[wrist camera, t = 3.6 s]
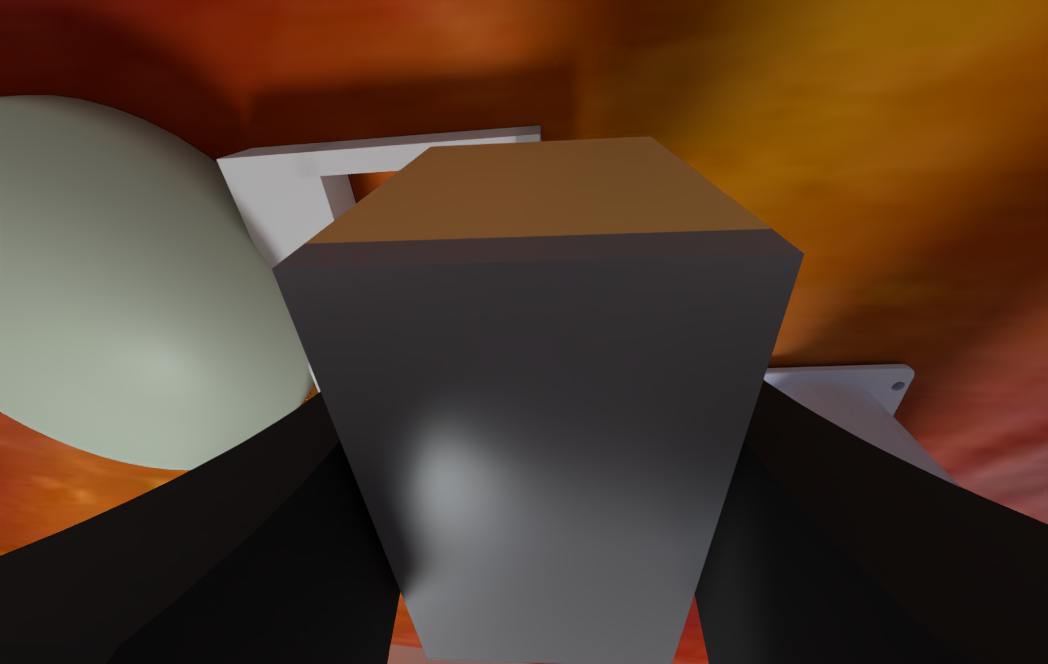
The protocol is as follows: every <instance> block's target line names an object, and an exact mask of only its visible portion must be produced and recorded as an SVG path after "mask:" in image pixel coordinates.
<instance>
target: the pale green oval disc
mask: <svg viewBox="0 0 1048 664" xmlns="http://www.w3.org/2000/svg"><path fill="white" fill-rule="evenodd" d="M540 141H541V125H538V126H525V127H512V128H500V129H487V130H474V131H462V132H449V133H436V134H424V135H411V136H398V137H386V138H373V139H360V140H348V141H335V142H322V143H310V144H297V145H285V146H272V147H259V148H251V149H247V150H244V151H241V152H238V153H235V154H231V155H228V156H225V157H222V158H219V159H216V160H217V162H218V164H217V163H216V162H215V161H214V160H212V159H211V158H210V157H208V156H207V155H206V154H204V153H203V152H201V151H199V150H198V149H196V148H195V147H193V146H192V145H190V144H188V143H187V142H185V141H184V140H182V139H181V138H179V137H177V136H176V135H174V134H172V133H170V132H168V131H166V130H164V129H162V128H160V127H158V126H156V125H154V124H152V123H150V122H148V121H146V120H144V119H141V118H139V117H136V116H134V115H131V114H129V113H126V112H123V111H121V110H118V109H116V108H113V107H109V106H106V105H102V104H98V103H94V102H91V101H87V100H83V99H78V98H70V97H63V96H56V95H17V96H3V97H0V412H2V413H3V414H5V415H7V416H9V417H11V418H13V419H14V420H16V421H18V422H20V423H22V424H24V425H25V426H27V427H29V428H31V429H34V430H36V431H38V432H40V433H42V434H44V435H46V436H48V437H51V438H53V439H55V440H58V441H60V442H63V443H65V444H68V445H70V446H73V447H75V448H78V449H81V450H84V451H87V452H90V453H93V454H96V455H99V456H102V457H106V458H109V459H113V460H117V461H121V462H125V463H130V464H135V465H140V466H145V467H153V468H161V469H173V470H192V469H194V468H196V467H198V466H200V465H202V464H203V463H205V462H207V461H209V460H211V459H213V458H215V457H216V456H218V455H220V454H222V453H224V452H226V451H228V450H229V449H231V448H233V447H235V446H237V445H239V444H240V443H242V442H244V441H246V440H247V439H249V438H251V437H252V436H254V435H256V434H257V433H259V432H260V431H262V430H264V429H265V428H267V427H269V426H270V425H272V424H274V423H275V422H277V421H278V420H280V419H281V418H283V417H285V416H286V415H288V414H289V413H291V412H292V411H294V410H295V409H297V408H298V407H300V406H301V404H302V403H303V402H304V400H305V399H306V397H307V396H308V394H309V393H310V392H311V390H312V389H313V387H314V385H316V387H317V390H318V392H320V389H319V386H318V384H317V381H316V379H315V376H314V374H313V371H312V369H311V366H310V364H309V361H308V359H307V356H306V354H305V351H304V349H303V346H302V344H301V341H300V339H299V336H298V334H297V331H296V329H295V326H294V324H293V321H292V319H291V316H290V314H289V311H288V309H287V306H286V304H285V301H284V299H283V296H282V294H281V291H280V289H279V286H278V284H277V281H276V279H275V276H274V274H273V271H272V268H273V267H275V266H276V265H277V264H278V263H280V262H281V261H282V260H284V259H285V258H286V257H288V256H289V255H290V254H291V253H293V252H294V251H295V250H297V249H298V248H299V247H301V246H302V245H303V244H304V243H306V242H307V241H308V240H310V239H311V238H312V237H314V236H315V235H316V234H317V233H319V232H320V231H321V230H323V229H324V228H325V227H327V226H328V225H329V224H330V223H332V222H333V221H334V220H336V219H337V218H338V217H340V216H341V215H342V214H343V213H345V212H346V211H347V210H349V209H350V208H351V207H353V206H354V205H355V204H356V202H355V199H354V195H353V192H352V188H351V185H350V181H349V178H348V174H357V173H371V172H385V171H398V170H401V169H402V168H403V167H405V166H406V165H407V164H409V163H410V162H411V161H412V160H414V159H415V158H416V157H418V156H419V155H420V154H422V153H423V152H424V151H425V150H427V149H428V148H429V147H432V146H453V145H475V144H497V143H518V142H540Z"/></svg>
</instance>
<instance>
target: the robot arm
mask: <svg viewBox="0 0 1048 664" xmlns="http://www.w3.org/2000/svg"><path fill="white" fill-rule="evenodd" d="M914 374H915V373H914V370H913V369H911V368H910V367H909V366H908V365H906V364H883V365H852V366H821V367H790V368H767V370H766V374H765V377H764V380H763V383H762V386H761V389H760V392H759V395H758V398H757V401H756V405H755V408H754V411H753V414H752V417H751V420H750V423H749V426H748V429H747V432H746V436H745V439H744V442H743V445H742V448H741V451H740V454H739V457H738V460H737V463H736V467H735V470H734V473H733V476H732V479H731V482H730V485H729V488H728V491H727V494H726V498H725V501H724V504H723V507H722V510H721V513H720V516H719V519H718V522H717V525H716V529H715V532H714V535H713V538H712V541H711V544H710V547H709V550H708V553H707V557H706V560H705V563H704V566H703V569H702V572H701V575H700V578H699V581H698V584H697V588H696V591H695V598H696V602H697V607H698V612H699V617H700V622H701V627H702V631H703V636H704V641H705V646H706V651H707V656H708V661H709V664H1048V524H1046V523H1043V522H1041V521H1038V520H1036V519H1034V518H1031V517H1029V516H1027V515H1024V514H1022V513H1019V512H1017V511H1015V510H1012V509H1010V508H1008V507H1005V506H1003V505H1000V504H998V503H996V502H993V501H991V500H989V499H986V498H984V497H982V496H979V495H977V494H975V493H973V492H970V491H968V490H966V489H964V488H962V487H961V486H960V485H959V484H958V483H957V482H956V481H955V480H954V479H953V478H952V477H951V476H950V475H949V474H948V473H947V472H946V471H945V470H944V469H943V468H942V467H941V466H940V465H939V464H938V463H937V462H936V460H935V459H934V458H933V457H932V456H931V455H930V454H929V453H928V452H927V451H926V450H925V449H924V448H923V447H922V446H921V445H920V444H919V443H918V442H917V441H916V440H915V439H914V438H913V437H912V436H911V434H910V433H909V432H908V431H907V430H906V429H905V428H904V427H903V426H902V425H901V424H900V423H899V422H898V421H897V420H896V419H895V418H894V417H893V415H894V413H895V411H896V410H897V408H898V406H899V404H900V402H901V400H902V398H903V396H904V394H905V392H906V391H907V389H908V387H909V385H910V383H911V381H912V379H913V377H914ZM399 596H400V589H399V586H398V584H397V581H396V579H395V576H394V574H393V571H392V569H391V566H390V564H389V561H388V559H387V556H386V554H385V551H384V549H383V546H382V544H381V541H380V539H379V536H378V534H377V531H376V529H375V526H374V524H373V521H372V519H371V516H370V514H369V511H368V509H367V506H366V504H365V501H364V499H363V496H362V494H361V491H360V489H359V486H358V484H357V481H356V479H355V476H354V474H353V471H352V469H351V466H350V464H349V461H348V459H347V456H346V454H345V451H344V449H343V446H342V444H341V441H340V439H339V436H338V434H337V431H336V429H335V426H334V424H333V421H332V419H331V416H330V414H329V411H328V409H327V406H326V404H325V401H324V399H323V396H322V394H321V391H320V392H319V393H318V394H316V395H315V396H314V397H312V398H311V399H310V400H308V401H307V402H305V403H304V404H303V405H301V406H300V407H298V408H297V409H295V410H294V411H292V412H291V413H289V414H288V415H286V416H285V417H283V418H281V419H280V420H278V421H277V422H275V423H274V424H272V425H270V426H269V427H267V428H265V429H264V430H262V431H260V432H259V433H257V434H256V435H254V436H252V437H251V438H249V439H247V440H246V441H244V442H242V443H240V444H239V445H237V446H235V447H233V448H231V449H229V450H228V451H226V452H224V453H222V454H220V455H218V456H216V457H215V458H213V459H211V460H209V461H207V462H205V463H203V464H202V465H200V466H198V467H196V468H194V469H192V470H190V471H188V472H187V473H185V474H183V475H181V476H179V477H177V478H175V479H173V480H171V481H169V482H167V483H165V484H163V485H161V486H159V487H157V488H155V489H153V490H151V491H149V492H147V493H144V494H142V495H140V496H138V497H136V498H134V499H132V500H130V501H128V502H125V503H123V504H121V505H119V506H117V507H114V508H112V509H110V510H108V511H106V512H103V513H101V514H99V515H97V516H95V517H92V518H90V519H88V520H86V521H83V522H81V523H79V524H76V525H74V526H72V527H70V528H67V529H65V530H63V531H60V532H58V533H55V534H53V535H51V536H48V537H46V538H43V539H41V540H38V541H36V542H33V543H31V544H28V545H26V546H24V547H21V548H19V549H16V550H14V551H11V552H9V553H6V554H4V555H1V556H0V664H387V662H388V656H389V650H390V644H391V639H392V633H393V628H394V623H395V617H396V612H397V607H398V601H399Z"/></svg>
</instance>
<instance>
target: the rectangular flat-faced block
mask: <svg viewBox="0 0 1048 664" xmlns="http://www.w3.org/2000/svg"><path fill="white" fill-rule="evenodd" d="M803 256H804V253H802V252H801V251H800V250H799V249H797V248H796V247H795V246H793V245H792V244H791V243H789V242H788V241H787V240H786V239H784V238H783V237H782V236H780V235H779V234H778V233H776V232H775V231H774V230H772V229H771V228H770V227H769V226H767V225H766V224H765V223H763V222H762V221H761V220H759V219H758V218H757V217H755V216H754V215H753V214H752V213H750V212H749V211H748V210H746V209H745V208H744V207H742V206H741V205H740V204H739V203H737V202H736V201H735V200H733V199H732V198H731V197H729V196H728V195H727V194H725V193H724V192H723V191H722V190H720V189H719V188H718V187H716V186H715V185H714V184H712V183H711V182H710V181H708V180H707V179H706V178H705V177H703V176H702V175H701V174H699V173H698V172H697V171H695V170H694V169H693V168H692V167H690V166H689V165H688V164H686V163H685V162H684V161H682V160H681V159H680V158H678V157H677V156H676V155H675V154H673V153H672V152H671V151H669V150H668V149H667V148H665V147H664V146H663V145H662V144H660V143H659V142H658V141H656V140H655V139H654V138H652V137H651V136H647V137H626V138H604V139H583V140H561V141H540V142H518V143H497V144H475V145H453V146H432V147H429V148H428V149H427V150H425V151H424V152H423V153H422V154H420V155H419V156H418V157H416V158H415V159H414V160H412V161H411V162H410V163H409V164H407V165H406V166H405V167H403V168H402V169H401V170H399V171H398V172H397V173H396V174H394V175H393V176H392V177H390V178H389V179H388V180H386V181H385V182H384V183H383V184H381V185H380V186H379V187H377V188H376V189H375V190H373V191H372V192H371V193H370V194H368V195H367V196H366V197H364V198H363V199H362V200H360V201H359V202H358V203H356V204H355V205H354V206H353V207H351V208H350V209H349V210H347V211H346V212H345V213H343V214H342V215H341V216H340V217H338V218H337V219H336V220H334V221H333V222H332V223H330V224H329V225H328V226H327V227H325V228H324V229H323V230H321V231H320V232H319V233H317V234H316V235H315V236H314V237H312V238H311V239H310V240H308V241H307V242H306V243H304V244H303V245H302V246H301V247H299V248H298V249H297V250H295V251H294V252H293V253H291V254H290V255H289V256H288V257H286V258H285V259H284V260H282V261H281V262H280V263H278V264H277V265H276V266H275V267H273V268H272V271H273V274H274V276H275V279H276V281H277V284H278V286H279V289H280V291H281V294H282V296H283V299H284V301H285V304H286V306H287V309H288V311H289V314H290V316H291V319H292V321H293V324H294V326H295V329H296V331H297V334H298V336H299V339H300V341H301V344H302V346H303V349H304V351H305V354H306V356H307V359H308V361H309V364H310V366H311V369H312V371H313V374H314V376H315V379H316V381H317V384H318V386H319V389H320V391H321V394H322V396H323V399H324V401H325V404H326V406H327V409H328V411H329V414H330V416H331V419H332V421H333V424H334V426H335V429H336V431H337V434H338V436H339V439H340V441H341V444H342V446H343V449H344V451H345V454H346V456H347V459H348V461H349V464H350V466H351V469H352V471H353V474H354V476H355V479H356V481H357V484H358V486H359V489H360V491H361V494H362V496H363V499H364V501H365V504H366V506H367V509H368V511H369V514H370V516H371V519H372V521H373V524H374V526H375V529H376V531H377V534H378V536H379V539H380V541H381V544H382V546H383V549H384V551H385V554H386V556H387V559H388V561H389V564H390V566H391V569H392V571H393V574H394V576H395V579H396V581H397V584H398V586H399V589H400V591H401V594H402V596H403V599H404V601H405V604H406V606H407V609H408V611H409V614H410V616H411V619H412V621H413V624H414V626H415V629H416V631H417V634H418V636H419V639H420V641H421V644H422V646H423V649H424V651H425V654H426V656H427V659H440V660H472V661H500V662H530V663H560V664H672V662H673V659H674V656H675V653H676V650H677V646H678V643H679V640H680V637H681V634H682V631H683V628H684V625H685V622H686V619H687V615H688V612H689V609H690V606H691V603H692V600H693V597H694V594H695V591H696V588H697V584H698V581H699V578H700V575H701V572H702V569H703V566H704V563H705V560H706V557H707V553H708V550H709V547H710V544H711V541H712V538H713V535H714V532H715V529H716V525H717V522H718V519H719V516H720V513H721V510H722V507H723V504H724V501H725V498H726V494H727V491H728V488H729V485H730V482H731V479H732V476H733V473H734V470H735V467H736V463H737V460H738V457H739V454H740V451H741V448H742V445H743V442H744V439H745V436H746V432H747V429H748V426H749V423H750V420H751V417H752V414H753V411H754V408H755V405H756V401H757V398H758V395H759V392H760V389H761V386H762V383H763V380H764V377H765V374H766V370H767V367H768V364H769V361H770V358H771V355H772V352H773V349H774V346H775V343H776V339H777V336H778V333H779V330H780V327H781V324H782V321H783V318H784V315H785V312H786V308H787V305H788V302H789V299H790V296H791V293H792V290H793V287H794V284H795V281H796V277H797V274H798V271H799V268H800V265H801V262H802V259H803Z"/></svg>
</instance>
